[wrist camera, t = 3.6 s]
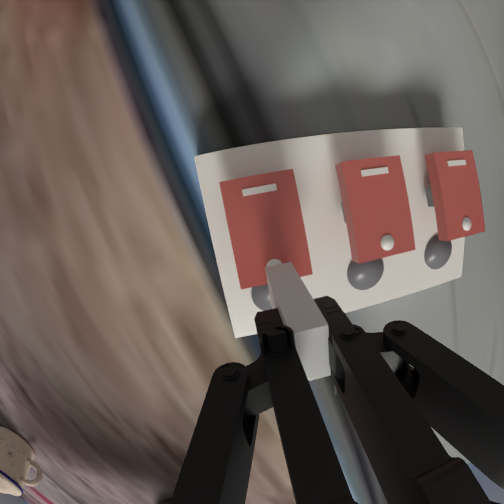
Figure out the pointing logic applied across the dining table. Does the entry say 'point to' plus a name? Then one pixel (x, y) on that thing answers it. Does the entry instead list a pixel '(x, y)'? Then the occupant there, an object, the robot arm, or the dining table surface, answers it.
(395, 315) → the dining table surface
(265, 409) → the robot arm
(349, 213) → the rocker
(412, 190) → the power strip
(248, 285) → the rocker
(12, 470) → the teacup with lid
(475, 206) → the rocker
